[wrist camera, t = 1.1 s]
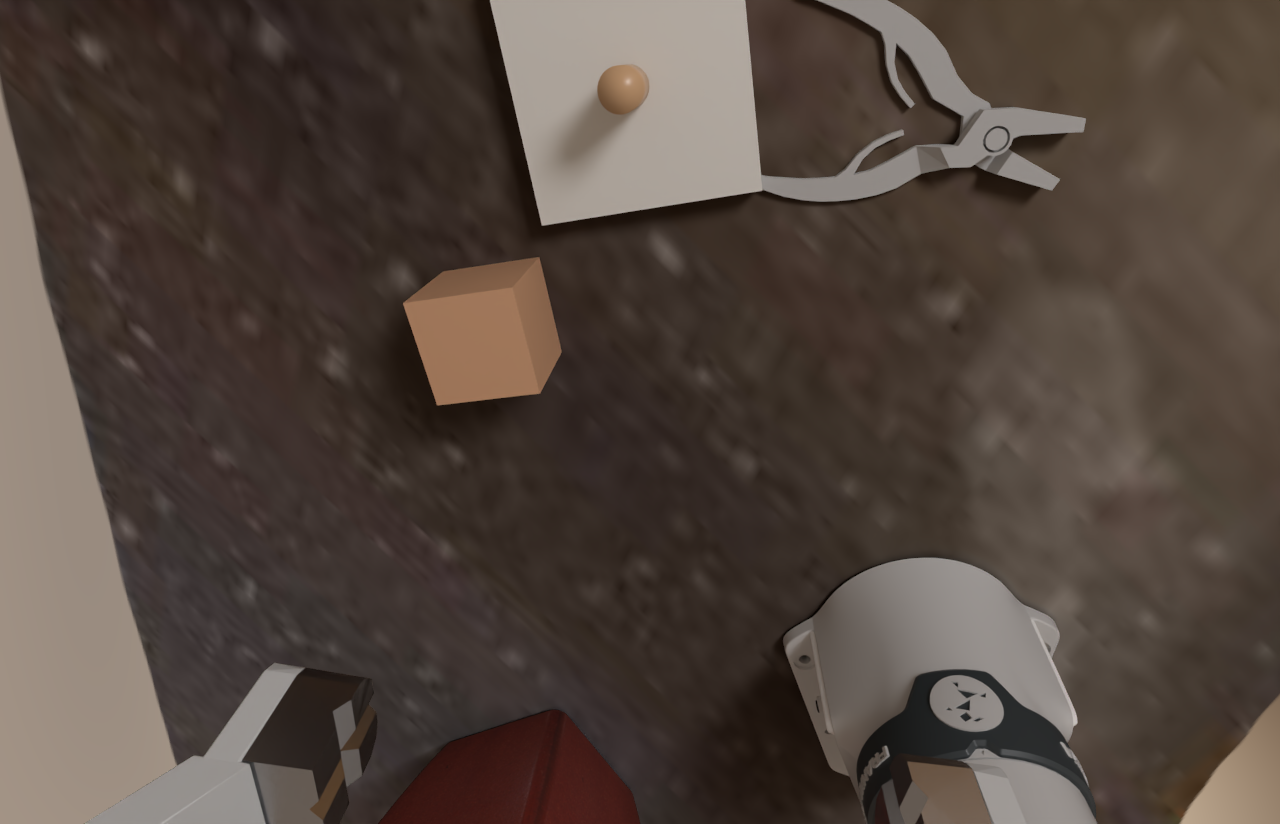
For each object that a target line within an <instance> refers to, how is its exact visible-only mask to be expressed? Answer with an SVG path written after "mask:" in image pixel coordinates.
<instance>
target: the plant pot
mask: <svg viewBox="0 0 1280 824" xmlns="http://www.w3.org/2000/svg"><path fill="white" fill-rule="evenodd" d="M378 824H640V821H639V816H638V812H637V809H636V805H635V801H634V797H633V794H632V792H631V791H630V789H629V788H628V787H627V786H626V785H625V784H624V782H623V781H622V780H621V779H620V778H619V776H618V775H617V774H616V773H615V772H614V770H613V769H612V768H611V767H610V766H609V764H608V763H607V762H606V761H605V760H604V758H603V757H602V756H601V755H600V754H599V753H598V751H597V750H596V749H595V748H594V747H593V745H592V744H591V743H590V742H589V741H588V739H587V738H586V737H585V736H584V735H583V733H582V732H581V731H580V730H579V729H578V727H577V726H576V725H575V724H574V723H573V721H572V720H571V719H570V718H569V717H568V716H567V715H566V714H565V713H564V712H562V711H559V710H550V711H546V712H543V713H540V714H537V715H534V716H531V717H528V718H524V719H521V720H518V721H515V722H512V723H509V724H506V725H502V726H499V727H496V728H493V729H490V730H487V731H483V732H481V733H478V734H474V735H471V736H468V737H465V738H462V739H459V740H456V741H453V742H450V743H448V744H447V745H446V746H445V747H444V748H443V749H442V750H441V751H440V752H439V753H438V754H437V755H436V756H435V757H434V758H433V759H432V760H431V761H430V763H429V764H428V765H427V766H426V767H425V768H424V769H423V771H422V772H421V773H420V774H419V775H418V776H417V777H416V778H415V780H414V781H413V782H412V783H411V784H410V785H409V787H408V788H407V789H406V790H405V791H404V792H403V794H402V795H401V796H400V797H399V798H398V800H397V801H396V802H395V803H394V804H393V806H392V807H391V808H390V809H389V811H388V812H387V813H386V814H385V816H384V817H383V818H382V819H381V821H380V822H379V823H378Z"/></svg>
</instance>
